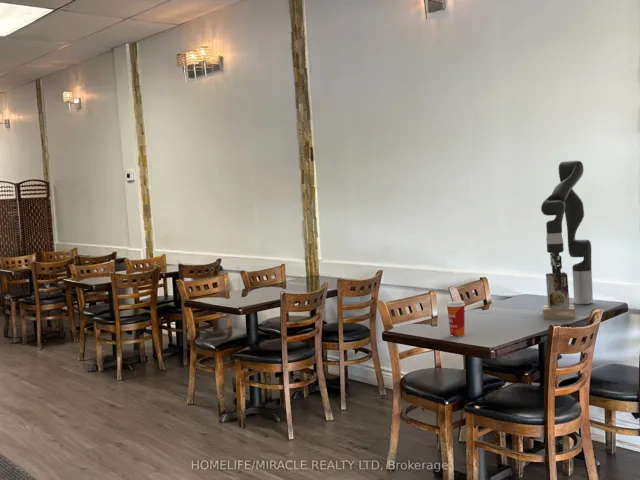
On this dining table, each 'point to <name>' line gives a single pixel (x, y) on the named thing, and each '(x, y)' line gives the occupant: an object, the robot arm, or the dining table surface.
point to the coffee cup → (456, 317)
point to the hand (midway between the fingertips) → (556, 275)
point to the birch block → (559, 312)
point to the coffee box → (557, 290)
